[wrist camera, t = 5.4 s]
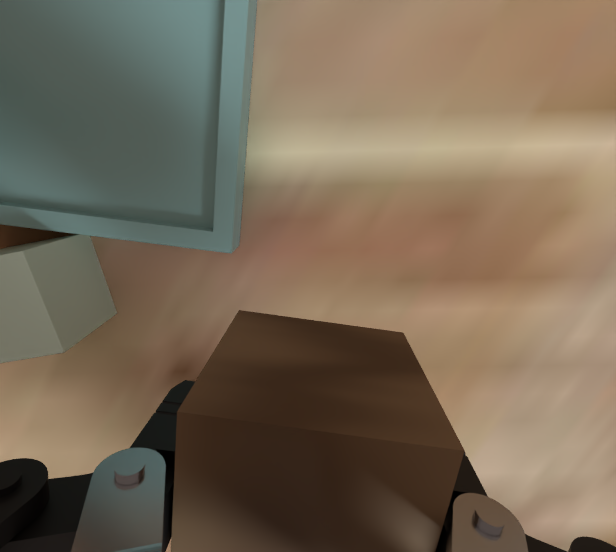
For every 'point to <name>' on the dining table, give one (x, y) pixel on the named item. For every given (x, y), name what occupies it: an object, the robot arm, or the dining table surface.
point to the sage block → (50, 296)
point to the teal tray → (126, 118)
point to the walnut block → (311, 443)
